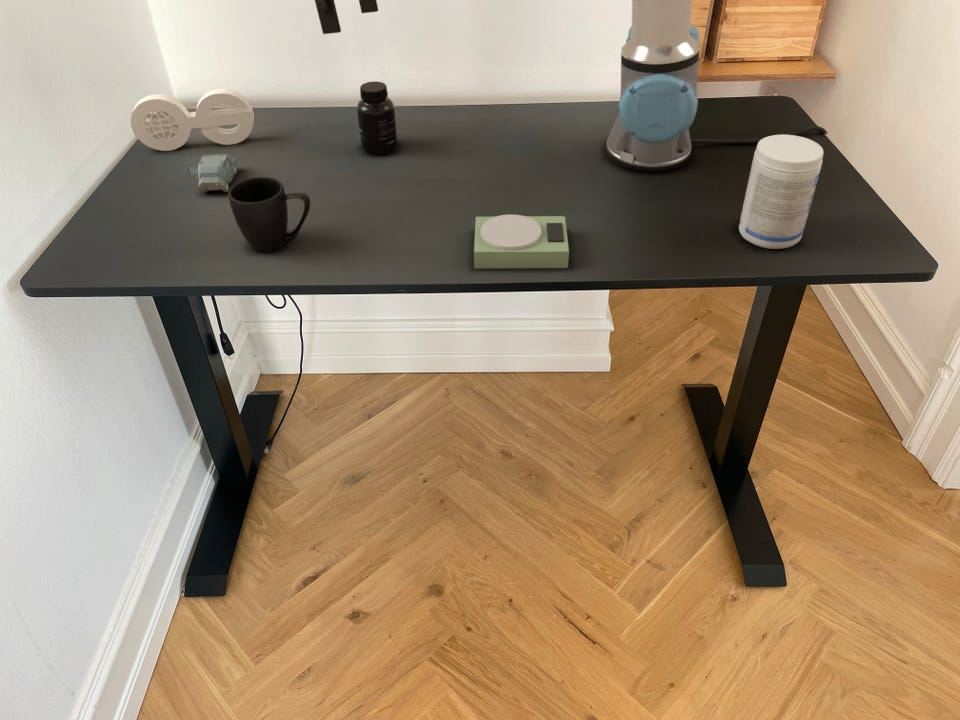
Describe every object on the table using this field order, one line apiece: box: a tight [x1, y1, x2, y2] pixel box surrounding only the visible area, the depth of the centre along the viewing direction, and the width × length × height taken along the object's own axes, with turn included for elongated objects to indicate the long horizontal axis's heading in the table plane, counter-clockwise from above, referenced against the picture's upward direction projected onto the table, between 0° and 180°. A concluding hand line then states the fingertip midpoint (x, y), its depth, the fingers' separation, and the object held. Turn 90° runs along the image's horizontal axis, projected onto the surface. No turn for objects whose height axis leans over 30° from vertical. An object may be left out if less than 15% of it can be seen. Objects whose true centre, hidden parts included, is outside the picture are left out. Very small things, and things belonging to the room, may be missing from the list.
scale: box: [473, 213, 570, 270], centre depth 120 cm, size 14×10×4 cm
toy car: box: [186, 153, 238, 194], centre depth 137 cm, size 6×10×5 cm, turn 1°
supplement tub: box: [738, 134, 824, 250], centre depth 118 cm, size 10×10×15 cm
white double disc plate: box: [130, 88, 255, 152], centre depth 147 cm, size 22×2×10 cm, turn 100°
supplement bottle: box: [356, 80, 398, 157], centre depth 144 cm, size 7×7×12 cm
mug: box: [227, 176, 311, 254], centre depth 120 cm, size 8×12×10 cm
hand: (352, 22), depth 122 cm, fingers open, 13 cm apart
